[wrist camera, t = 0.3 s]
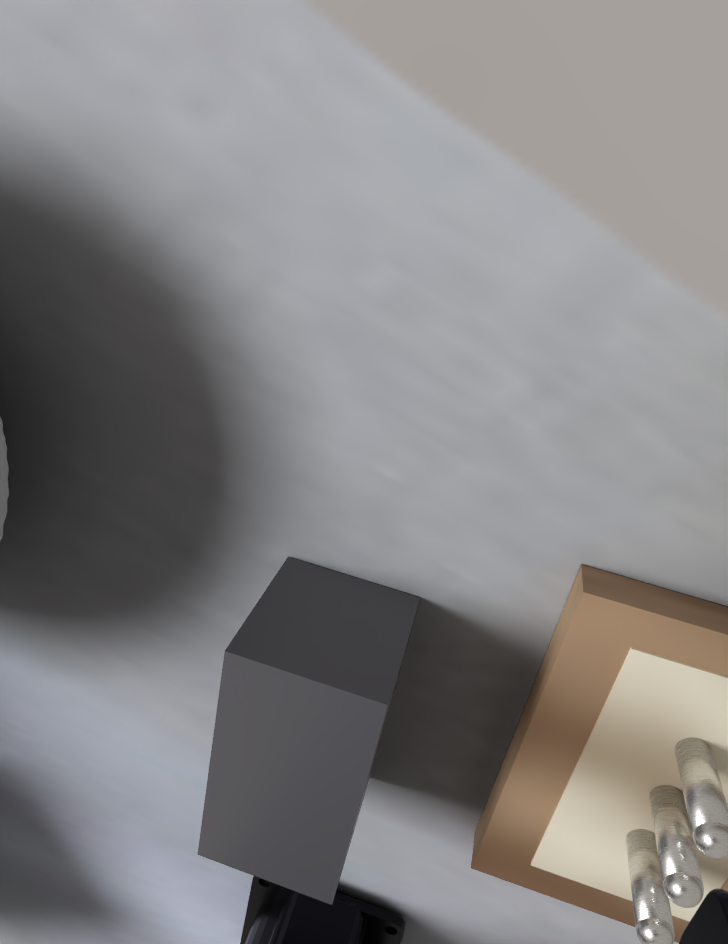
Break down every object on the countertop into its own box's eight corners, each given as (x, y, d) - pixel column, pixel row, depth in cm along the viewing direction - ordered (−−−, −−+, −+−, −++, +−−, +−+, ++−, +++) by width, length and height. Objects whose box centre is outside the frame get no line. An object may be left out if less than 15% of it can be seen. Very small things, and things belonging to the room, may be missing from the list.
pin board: (724, 919, 24) (735, 965, 23) (475, 831, 26) (470, 870, 24) (905, 659, 19) (933, 698, 18) (581, 564, 20) (583, 593, 19)
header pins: (650, 840, 23) (669, 966, 19) (619, 829, 23) (632, 952, 19) (713, 729, 20) (747, 848, 17) (678, 718, 21) (705, 833, 17)
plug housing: (369, 778, 26) (331, 905, 21) (256, 739, 27) (197, 854, 22) (420, 597, 22) (387, 705, 18) (288, 556, 23) (224, 651, 18)
